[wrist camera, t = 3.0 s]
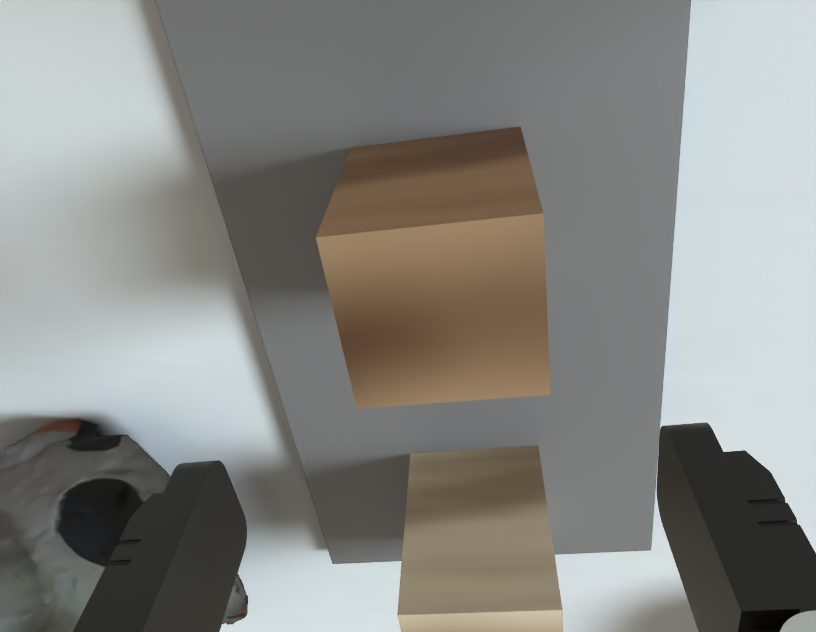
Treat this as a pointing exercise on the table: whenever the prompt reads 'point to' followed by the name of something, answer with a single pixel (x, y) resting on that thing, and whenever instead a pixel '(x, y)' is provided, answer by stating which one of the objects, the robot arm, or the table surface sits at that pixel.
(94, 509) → the lucky cat figurine
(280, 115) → the board
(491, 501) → the pale birch block
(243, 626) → the table surface
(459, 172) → the walnut block
